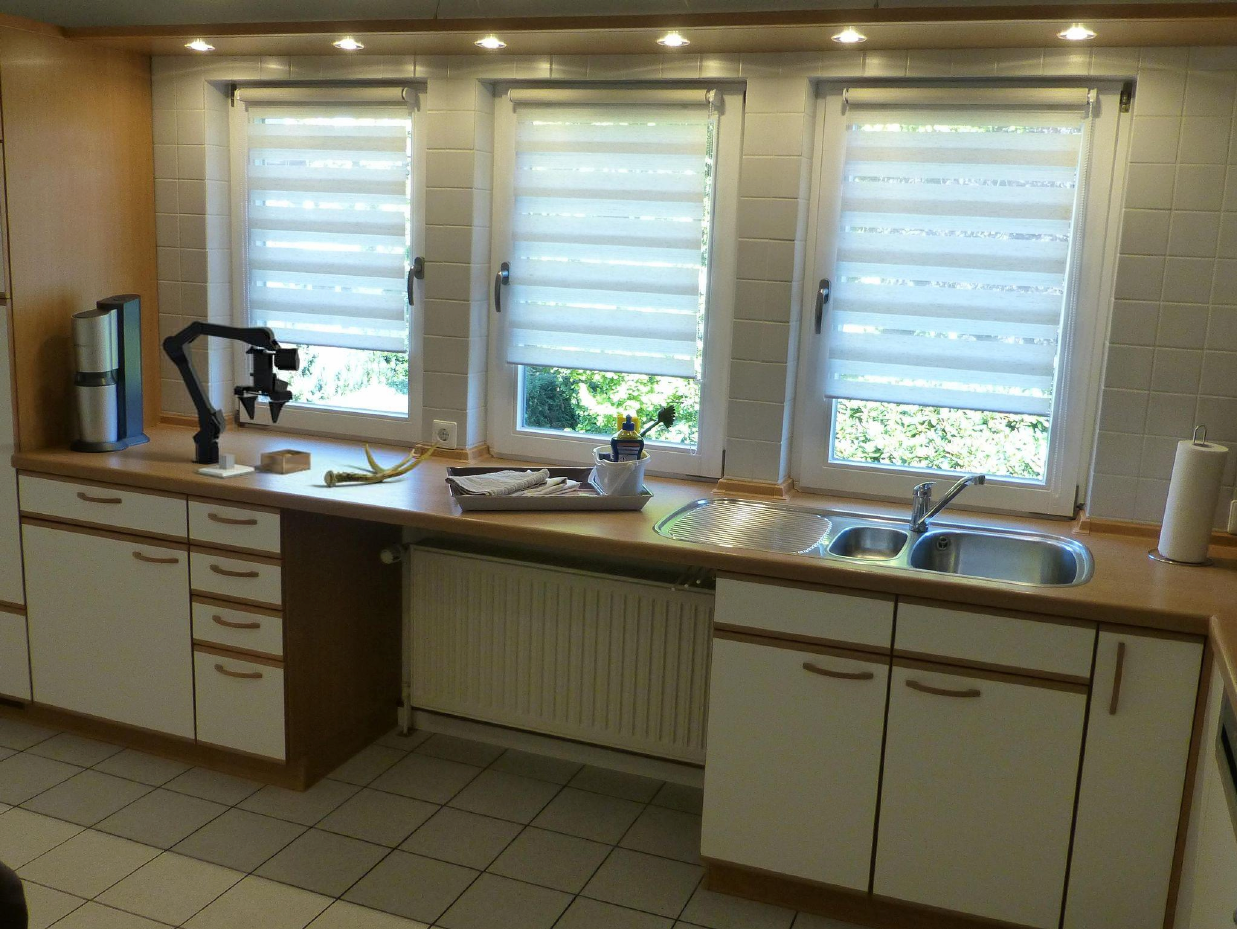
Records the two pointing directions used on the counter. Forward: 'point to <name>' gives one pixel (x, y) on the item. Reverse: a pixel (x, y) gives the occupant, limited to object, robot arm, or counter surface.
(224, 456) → the lid
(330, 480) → the antler
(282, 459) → the crate
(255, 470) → the mat
